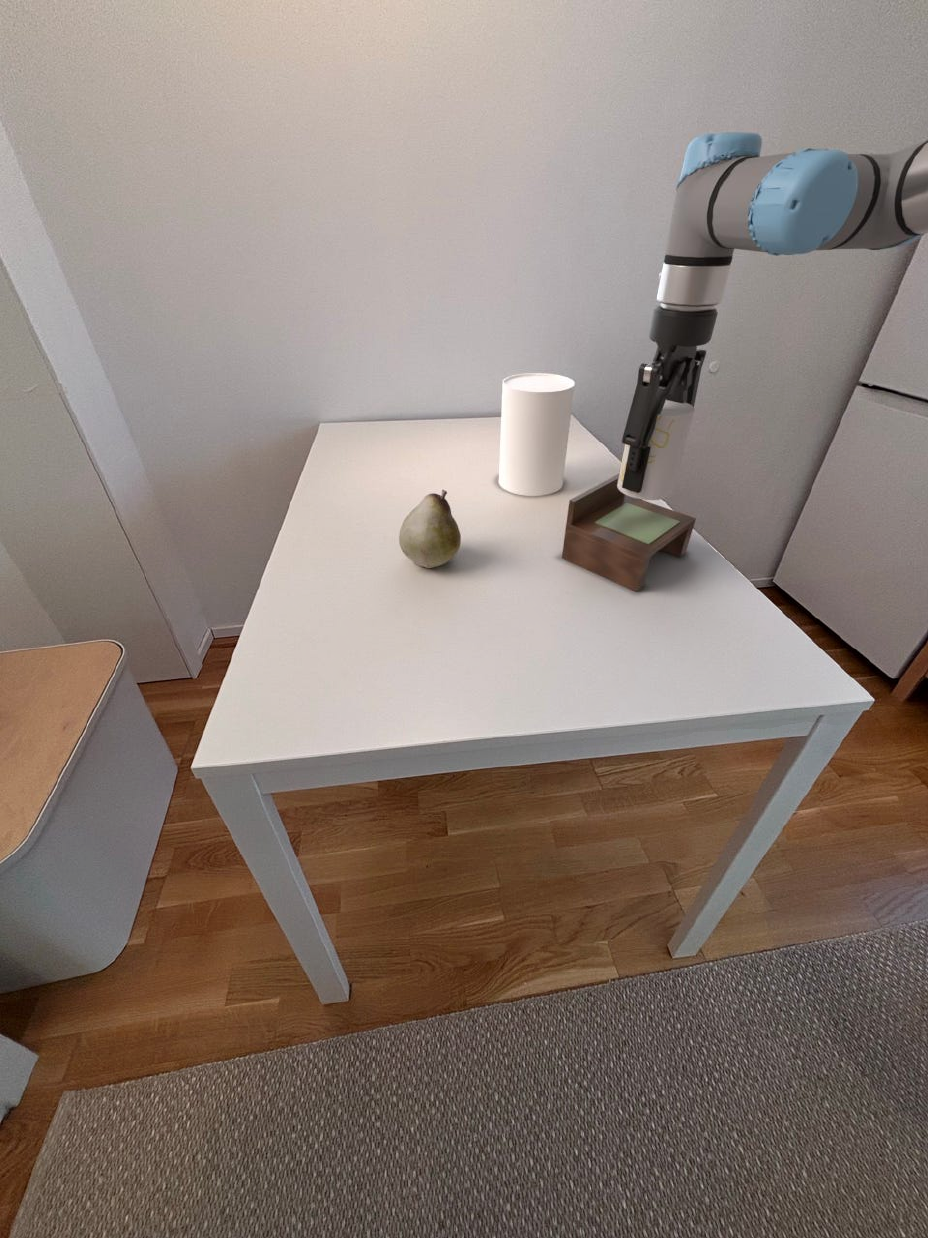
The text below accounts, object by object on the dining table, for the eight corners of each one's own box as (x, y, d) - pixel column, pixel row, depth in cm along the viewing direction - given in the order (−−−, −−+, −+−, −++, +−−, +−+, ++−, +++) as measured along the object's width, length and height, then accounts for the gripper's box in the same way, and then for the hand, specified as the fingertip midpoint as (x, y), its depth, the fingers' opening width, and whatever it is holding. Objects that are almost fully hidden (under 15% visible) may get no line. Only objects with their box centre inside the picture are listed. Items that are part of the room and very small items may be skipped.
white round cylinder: (606, 483, 80) (620, 403, 72) (645, 473, 83) (663, 394, 75) (643, 504, 74) (663, 419, 67) (684, 492, 77) (707, 409, 70)
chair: (685, 552, 87) (703, 495, 81) (636, 592, 79) (651, 531, 72) (613, 525, 95) (624, 470, 88) (561, 558, 86) (569, 499, 80)
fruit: (472, 560, 86) (472, 493, 78) (432, 584, 80) (428, 514, 73) (428, 539, 91) (425, 475, 84) (388, 561, 86) (381, 493, 78)
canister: (536, 464, 117) (544, 369, 105) (575, 486, 108) (589, 384, 96) (486, 477, 112) (488, 379, 99) (524, 501, 103) (531, 396, 90)
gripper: (696, 294, 71) (658, 455, 86) (613, 312, 60) (585, 494, 74) (751, 299, 67) (702, 467, 81) (674, 320, 56) (632, 511, 70)
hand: (646, 480), depth 78 cm, fingers closed on white round cylinder, 8 cm apart
